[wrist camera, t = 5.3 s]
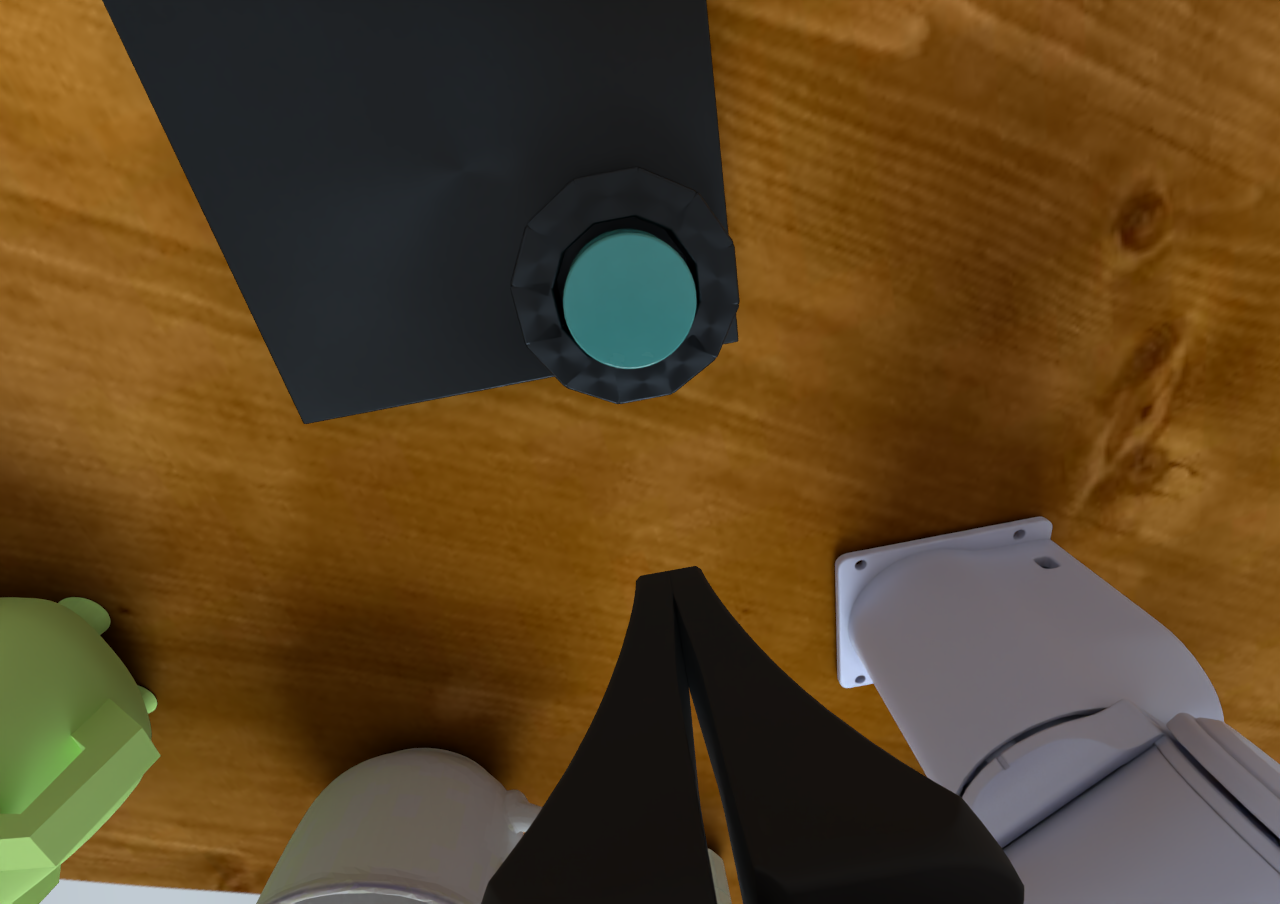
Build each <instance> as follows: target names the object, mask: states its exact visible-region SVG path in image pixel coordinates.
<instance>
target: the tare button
mask: <svg viewBox="0 0 1280 904" xmlns="http://www.w3.org/2000/svg"><path fill="white" fill-rule="evenodd" d="M696 304H697V297H696V288H695V283H694V280H693V277H692V274H691V272H690V270H689V268H688V266H687V264H686V263H685V261H684V260H683V258H682V257H681V256H680V255H679V254H678V252H677V251H675V250H674V249H673V248H672V247H671V246H670V245H668V244H667V243H665V242H664V241H662V240H661V239H659V238H658V237H656V236H654V235H652V234H650V233H648V232H645V231H642V230H637V229H615V230H612V231H608V232H605V233H603V234H600V235H599V236H597V237H595V238H593V239H592V240H591V241H589V242H588V243H587V244H586V245H585V246H584V247H583V248H582V249H581V250H580V251H579V252H578V254H577V255H576V257H575V258H574V260H573V262H572V264H571V266H570V269H569V271H568V274H567V278H566V282H565V287H564V292H563V310H564V316H565V320H566V323H567V326H568V328H569V331H570V333H571V335H572V336H573V338H574V340H575V341H576V342H577V344H578V345H579V346H580V347H581V348H582V349H583V350H584V351H585V352H586V353H587V354H588V355H589V356H591V357H592V358H593V359H595V360H597V361H599V362H601V363H603V364H605V365H608V366H611V367H615V368H621V369H638V368H643V367H647V366H651V365H653V364H656V363H658V362H660V361H662V360H664V359H665V358H667V357H668V356H669V355H671V354H672V353H673V352H674V351H675V350H676V349H677V348H678V347H679V346H680V345H681V344H682V342H683V341H684V340H685V338H686V336H687V335H688V333H689V331H690V329H691V327H692V324H693V321H694V318H695V313H696Z"/></svg>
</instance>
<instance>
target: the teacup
mask: <svg viewBox="0 0 1280 904" xmlns="http://www.w3.org/2000/svg"><path fill="white" fill-rule="evenodd" d="M541 809H542V807H540V806H537V805H534V804H531V803H529V802H528V800H527V798H526V797H525V795H524V794H523V793H521V792H520V791H518V790H509V791H506V789H505V788H504V787H503V786H502V784H501V783H500V782H499V781H498V780H496V779H495V778H494V777H493V776H492V775H491V774H489V773H488V772H487V771H486V770H485V769H484V768H483V767H482V766H480V765H479V764H478V763H476V762H475V761H473V760H471V759H469V758H467V757H465V756H463V755H460V754H458V753H455V752H451V751H448V750H443V749H436V748H412V749H405V750H401V751H397V752H394V753H390V754H385V755H381V756H378V757H375V758H371V759H369V760H366V761H364V762H362V763H360V764H358V765H356V766H354V767H352V768H350V769H348V770H347V771H345V772H344V773H342V774H341V775H340V776H338V777H337V778H336V779H335V780H333V781H332V782H331V783H330V784H329V785H328V786H327V787H326V788H325V789H324V790H323V791H322V792H321V794H320V795H319V796H318V797H317V798H316V800H315V801H314V802H313V804H312V805H311V806H310V808H309V809H308V811H307V812H306V814H305V815H304V817H303V819H302V820H301V822H300V824H299V825H298V827H297V829H296V831H295V832H294V834H293V836H292V837H291V839H290V841H289V843H288V845H287V846H286V848H285V850H284V852H283V854H282V856H281V857H280V859H279V861H278V863H277V865H276V867H275V869H274V870H273V872H272V874H271V876H270V878H269V880H268V882H267V884H266V886H265V888H264V890H263V892H262V894H261V896H260V898H259V900H258V902H257V903H256V904H481V902H482V899H483V896H484V893H485V890H486V887H487V884H488V882H489V880H490V879H491V878H492V876H493V875H494V874H495V873H496V871H497V870H498V869H499V867H500V866H501V865H502V863H503V862H504V861H505V859H506V858H507V857H508V855H509V854H510V853H511V851H512V850H513V849H514V847H515V846H516V844H517V843H518V842H519V840H520V839H521V838H522V836H523V832H526V831H527V830H528V828H529V827H530V825H531V824H532V823H533V821H534V820H535V818H536V817H537V815H538V814H539V812H540V811H541Z"/></svg>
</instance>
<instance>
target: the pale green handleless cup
mask: <svg viewBox="0 0 1280 904" xmlns="http://www.w3.org/2000/svg"><path fill="white" fill-rule="evenodd" d="M708 853H709V859H710V865H711V870H712V876H713V881H714V887H715V893H716V898H717V904H732V903H731V898H730V893H729V888H728V883H727V878H726V873H725V868H724V863H723V860H722V858H721V857H720V856H718V855H717V854H716V853H715V852H714V851H712V850H711V849H708Z"/></svg>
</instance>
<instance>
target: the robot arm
mask: <svg viewBox="0 0 1280 904" xmlns="http://www.w3.org/2000/svg"><path fill="white" fill-rule="evenodd" d="M1016 531H1018V532H1017V533H1015V532H1016ZM1014 533H1015V534H1014ZM1051 533H1052V523H1051V522H1050V521H1049V520H1047V519H1046V518H1044V517H1033V518H1028V519H1023V520H1018V521H1012V522H1007V523H1002V524H997V525H992V526H986V527H981V528H976V529H971V530H965V531H960V532H955V533H950V534H944V535H939V536H934V537H929V538H924V539H918V540H913V541H908V542H903V543H897V544H892V545H887V546H882V547H876V548H871V549H866V550H861V551H856V552H850V553H846V554H843V555H841V556H840V557H838V558H837V560H836V562H835V588H836V635H837V678H838V681H839V683H840V685H841V686H842V687H845V688H852V687H857V686H862V685H867V684H873V683H874V685H875V687H876V688H877V690H878V692H879V694H880V695H881V697H882V699H883V701H884V702H885V704H886V706H887V708H888V709H889V711H890V713H891V715H892V716H893V718H894V720H895V722H896V723H897V725H898V727H899V728H900V730H901V732H902V734H903V735H904V737H905V739H906V741H907V742H908V744H909V746H910V748H911V749H912V751H913V753H914V755H915V756H916V758H917V760H918V762H919V763H920V765H921V767H922V768H923V770H924V772H925V774H926V775H927V777H928V778H927V777H926V776H924V775H922V774H920V773H919V772H917V771H915V770H914V769H912V768H911V767H909V766H907V765H906V764H904V763H902V762H901V761H899V760H898V759H896V758H895V757H893V756H892V755H890V754H889V753H887V752H886V751H884V750H883V749H881V748H880V747H878V746H877V745H875V744H874V743H872V742H871V741H869V740H868V739H867V738H865V737H864V736H863V735H861V734H860V733H859V732H857V731H856V730H854V729H853V728H852V727H850V726H849V725H848V724H846V723H845V722H844V721H842V720H841V719H840V718H838V717H837V716H836V715H834V714H833V713H831V712H830V711H829V710H827V709H826V708H825V707H824V706H823V705H821V704H820V703H819V702H818V701H817V700H815V699H814V698H813V697H812V696H811V695H809V694H808V693H807V692H806V691H805V690H803V689H802V688H801V687H800V686H799V685H798V684H797V683H796V682H795V681H793V680H792V679H791V678H790V677H789V676H788V675H787V674H786V673H785V672H784V671H783V670H782V669H781V668H779V667H778V666H777V665H776V664H775V663H774V662H773V661H772V660H771V659H770V658H769V657H768V655H767V654H766V653H765V652H764V651H763V650H762V649H761V648H760V647H759V646H758V645H757V644H756V643H755V642H754V641H753V640H752V638H751V637H750V636H749V635H748V634H747V633H746V632H745V630H744V629H743V628H742V627H741V626H740V624H739V623H738V622H737V621H736V620H735V618H734V617H733V616H732V615H731V614H730V612H729V611H728V610H727V609H726V607H725V606H724V605H723V603H722V602H721V600H720V599H719V598H718V596H717V595H716V594H715V592H714V591H713V589H712V588H711V586H710V584H709V583H708V581H707V580H706V578H705V576H704V574H703V572H702V570H701V569H700V568H698V567H696V566H693V567H687V568H682V569H676V570H671V571H665V572H659V573H654V574H648V575H643V576H640V577H639V578H638V579H637V581H636V590H635V598H634V604H633V609H632V613H631V617H630V622H629V625H628V629H627V632H626V636H625V639H624V643H623V646H622V649H621V652H620V655H619V658H618V661H617V663H616V666H615V669H614V672H613V674H612V677H611V680H610V682H609V685H608V688H607V690H606V692H605V695H604V697H603V699H602V702H601V704H600V706H599V708H598V710H597V713H596V715H595V717H594V719H593V721H592V723H591V725H590V727H589V729H588V731H587V733H586V735H585V737H584V739H583V741H582V742H581V744H580V746H579V748H578V750H577V752H576V754H575V756H574V757H573V759H572V761H571V763H570V764H569V766H568V768H567V770H566V771H565V773H564V775H563V776H562V778H561V779H560V781H559V783H558V784H557V786H556V787H555V789H554V790H553V792H552V793H551V795H550V797H549V798H548V800H547V801H546V803H545V804H544V806H543V807H542V809H541V811H540V812H539V814H538V815H537V817H536V818H535V820H534V821H533V823H532V824H531V825H530V827H529V828H528V830H527V831H526V832H525V834H524V835H523V836H522V838H521V839H520V840H519V842H518V843H517V844H516V846H515V847H514V849H513V850H512V851H511V853H510V854H509V855H508V857H507V858H506V859H505V861H504V862H503V863H502V865H501V866H500V867H499V869H498V870H497V871H496V873H495V874H494V875H493V876H492V878H491V879H490V880H489V882H488V884H487V887H486V890H485V893H484V896H483V899H482V902H481V904H717V898H716V893H715V887H714V881H713V876H712V870H711V865H710V859H709V853H708V848H707V842H706V836H705V831H704V825H703V819H702V813H701V806H700V798H699V791H698V780H697V770H696V759H695V749H694V738H693V727H692V717H691V706H690V696H689V689H690V693H691V696H692V699H693V703H694V706H695V710H696V713H697V716H698V720H699V723H700V727H701V730H702V733H703V737H704V740H705V744H706V747H707V750H708V754H709V757H710V761H711V764H712V767H713V771H714V774H715V778H716V781H717V784H718V788H719V792H720V796H721V800H722V804H723V808H724V812H725V817H726V822H727V827H728V831H729V836H730V841H731V846H732V851H733V856H734V860H735V865H736V870H737V875H738V880H739V885H740V890H741V895H742V900H743V904H1280V764H1278V763H1277V762H1276V761H1275V760H1273V759H1272V758H1271V757H1270V756H1268V755H1267V754H1266V753H1264V752H1263V751H1262V750H1261V749H1259V748H1258V747H1257V746H1255V745H1254V744H1253V743H1252V742H1250V741H1249V740H1248V739H1246V738H1245V737H1244V736H1242V735H1241V734H1240V733H1238V732H1237V731H1236V730H1234V729H1233V728H1232V727H1230V726H1229V725H1227V724H1226V723H1224V718H1223V712H1222V708H1221V704H1220V701H1219V698H1218V696H1217V693H1216V691H1215V689H1214V687H1213V685H1212V684H1211V682H1210V680H1209V678H1208V677H1207V675H1206V673H1205V672H1204V670H1203V669H1202V667H1201V666H1200V664H1199V663H1198V662H1197V660H1196V659H1195V657H1194V656H1193V655H1192V654H1191V653H1190V651H1189V650H1188V649H1187V648H1186V647H1185V645H1184V644H1183V643H1182V642H1181V641H1180V640H1179V639H1178V638H1177V637H1176V636H1175V635H1174V634H1173V633H1172V632H1171V631H1169V630H1168V629H1167V628H1166V627H1165V626H1163V625H1162V624H1161V623H1160V622H1158V621H1157V620H1156V619H1154V618H1153V617H1152V616H1150V615H1149V614H1148V613H1147V612H1145V611H1144V610H1143V609H1141V608H1140V607H1139V606H1137V605H1136V604H1135V603H1133V602H1132V601H1131V600H1129V599H1128V598H1127V597H1125V596H1124V595H1123V594H1121V593H1120V592H1119V591H1118V590H1116V589H1115V588H1114V587H1112V586H1111V585H1110V584H1108V583H1107V582H1106V581H1104V580H1103V579H1102V578H1100V577H1099V576H1098V575H1096V574H1095V573H1094V572H1093V571H1091V570H1090V569H1089V568H1087V567H1086V566H1085V565H1083V564H1082V563H1081V562H1079V561H1078V560H1077V559H1075V558H1074V557H1073V556H1071V555H1070V554H1069V553H1067V552H1066V551H1065V550H1064V549H1062V548H1061V547H1060V546H1058V545H1057V544H1056V543H1054V542H1053V541H1052V540H1050V538H1051ZM860 560H862V562H861V563H859V564H857V565H855V564H856V563H857V562H858V561H860Z"/></svg>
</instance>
